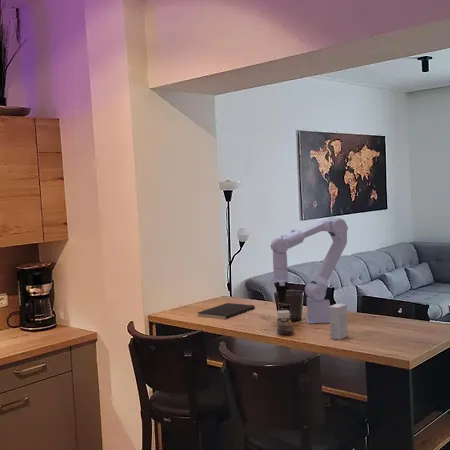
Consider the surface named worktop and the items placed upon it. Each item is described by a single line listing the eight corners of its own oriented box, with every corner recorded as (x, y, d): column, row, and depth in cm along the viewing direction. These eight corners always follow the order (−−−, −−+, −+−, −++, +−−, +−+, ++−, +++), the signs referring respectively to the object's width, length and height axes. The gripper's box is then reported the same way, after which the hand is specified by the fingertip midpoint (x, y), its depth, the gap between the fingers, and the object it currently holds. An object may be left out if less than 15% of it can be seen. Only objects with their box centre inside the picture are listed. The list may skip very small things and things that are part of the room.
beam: (291, 326, 234) (290, 316, 234) (294, 335, 220) (293, 324, 220) (276, 327, 234) (275, 317, 234) (278, 336, 220) (277, 325, 220)
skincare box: (337, 334, 218) (336, 303, 217) (348, 336, 215) (346, 304, 214) (329, 338, 213) (328, 306, 212) (340, 340, 210) (338, 307, 209)
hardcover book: (197, 317, 263) (197, 312, 263) (227, 307, 281) (227, 302, 281) (226, 320, 253) (225, 315, 253) (255, 310, 272) (254, 305, 272)
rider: (289, 318, 234) (288, 310, 234) (289, 320, 230) (289, 312, 230) (277, 318, 234) (277, 310, 234) (278, 321, 230) (277, 312, 230)
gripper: (269, 265, 244) (271, 297, 245) (271, 270, 230) (273, 304, 231) (286, 264, 244) (288, 296, 245) (289, 269, 230) (290, 303, 231)
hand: (281, 300), depth 238 cm, fingers open, 3 cm apart
